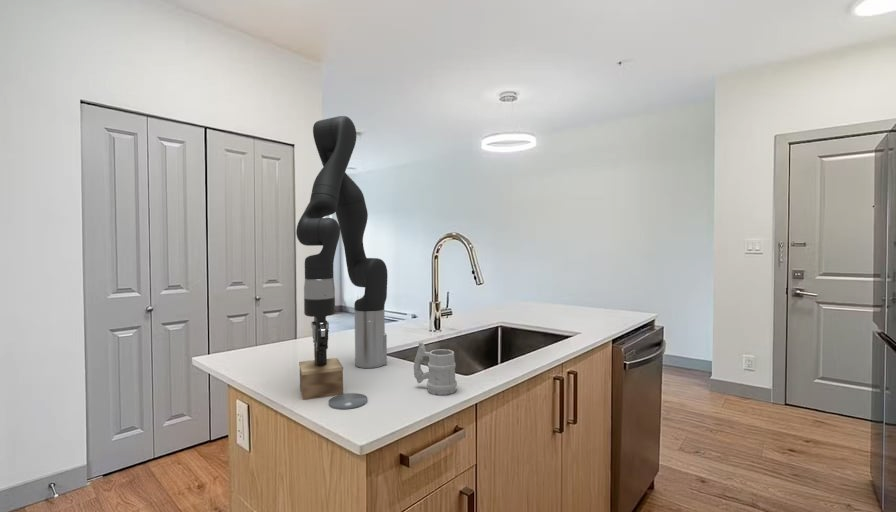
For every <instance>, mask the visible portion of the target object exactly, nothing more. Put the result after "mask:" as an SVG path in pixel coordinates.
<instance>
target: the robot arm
mask: <svg viewBox="0 0 896 512" xmlns="http://www.w3.org/2000/svg"><path fill="white" fill-rule="evenodd" d="M312 126H313V127H312V133H313V140H314V145H315V147H316V151H317V153H318V155H319V158H320V159H319V160H320V161H321V164H322V168H321V170H320V171H319V172H318V174H317V175H316V177H315V179H314V181H313V185H312V189H311V192H310V193H311V195H310V198H309V203H308V204H307V205H306V207H305V210H304V212H303V213H302V215H301V217H300V218H299V220H298V223H297V226H296V230H295V231H296V238H297V240H298V242H299V243H300V244H301V245H303V246H305V247H306V246H307V247H309V246H313V247H314V246H320V247H321V246H322V249H321V251H320V252H319V253H317V254H311V255H308V256H306V257H305V259H304V285H303V303H304V305H303V308H304V311H303V314H304V315H305V316H306V317H313V321H311V324H310V326H311V329H312V331H311V334H312V335H311V337H312V343H313V346H314V347H316V351H317V365H318V366H323V365H326V350H328V348H329V332H330V331H329V329H330V324H329V322H328V320H327V316H329V317H330V316H333V315H334V314H335V313H336V300H335V299H336V298H335V297H336V292H335V291H336V289H335V282H334V281H335V280H334V278H335V277H334V263H335V262H334V261H335V257H336V256H335V255H336V251H337V247H338V243H339V240H340V236H341V239H342V243H343V249H344V256H345V263H346V268H347V274H348V279H349V280H350V282H351V283H352V285H353V286H355V287H359V288H364V294H363V296H362V297H360V298H358V299H356V300H355V302H354V303H353V304H354V306H353V307H354V308H353V309H354V365H355V367H357V368H363V369H372V368H378V367H383V366H387V365H388V356H387V355H388V351H387V350H388V346H387V345H388V344H387V342H388V340H387V338H388V336H387V333H385V332H386V329H385V327H386V326H385V323H386V322H385V304H386V302H387V301H386V300H387V298H388V268H387V264H386V263H385V262H384V260H383V259H381V258H378V257H375V258H374V257H367V256H366V253H365V249H364V234H365V230H366V227H367V224H368V219H369V218H368V217H369V216H368V215H369V213H368V209H367V204H366V201H365V196H364V193H363V191H362V189H361V188H360V187H359V186H358V184H356V183H357V182H355V181H354V180H353V179H352V178H351V177H350V176H349V175H348V174H347V172H346V171H347V168H348V166H349V163H350V160H351V158H352V154H353V151H354V149H355V147H356V143H357V129H356V126H355V124H354V122H353V120H352V119H351V118H350V117H349V116H346V115H338V116H335V117H329V118H325V119H321V120H317V121H316V122H314V124H313V125H312ZM334 214H335V215H336V219H337V220H336V219H335V218H332V217H329V216H332V215H334ZM327 216H328V217H327ZM314 347H313V348H314Z"/></svg>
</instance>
